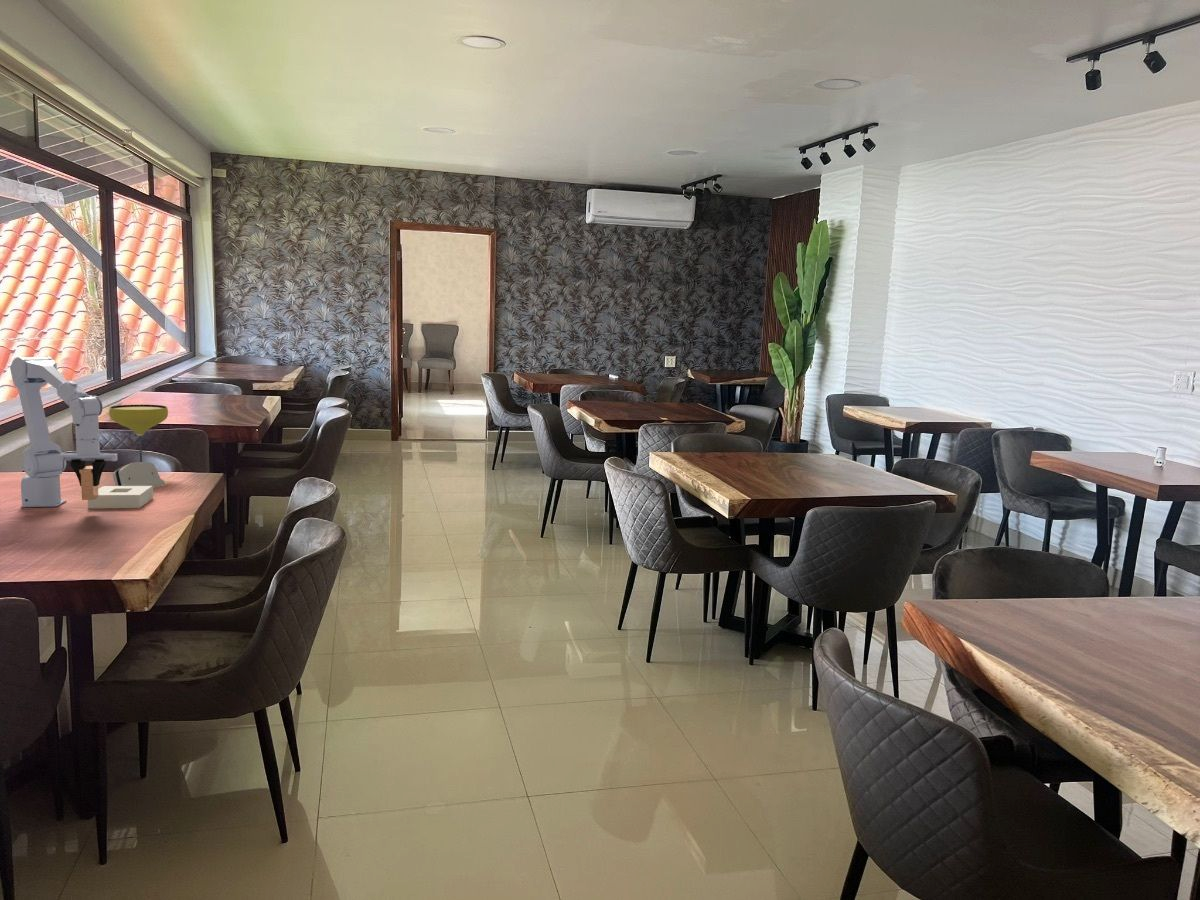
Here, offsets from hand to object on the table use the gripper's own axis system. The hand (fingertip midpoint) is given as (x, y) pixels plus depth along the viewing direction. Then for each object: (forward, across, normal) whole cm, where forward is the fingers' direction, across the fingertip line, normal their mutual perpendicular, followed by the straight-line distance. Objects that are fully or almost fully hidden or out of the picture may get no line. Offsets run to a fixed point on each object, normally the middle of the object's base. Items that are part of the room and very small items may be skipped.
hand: (89, 485), depth 242 cm
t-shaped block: (+4, 0, 0) cm, 4 cm away
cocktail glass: (+9, -2, +58) cm, 58 cm away
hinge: (+9, +3, +37) cm, 38 cm away
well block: (+8, +4, +14) cm, 17 cm away
